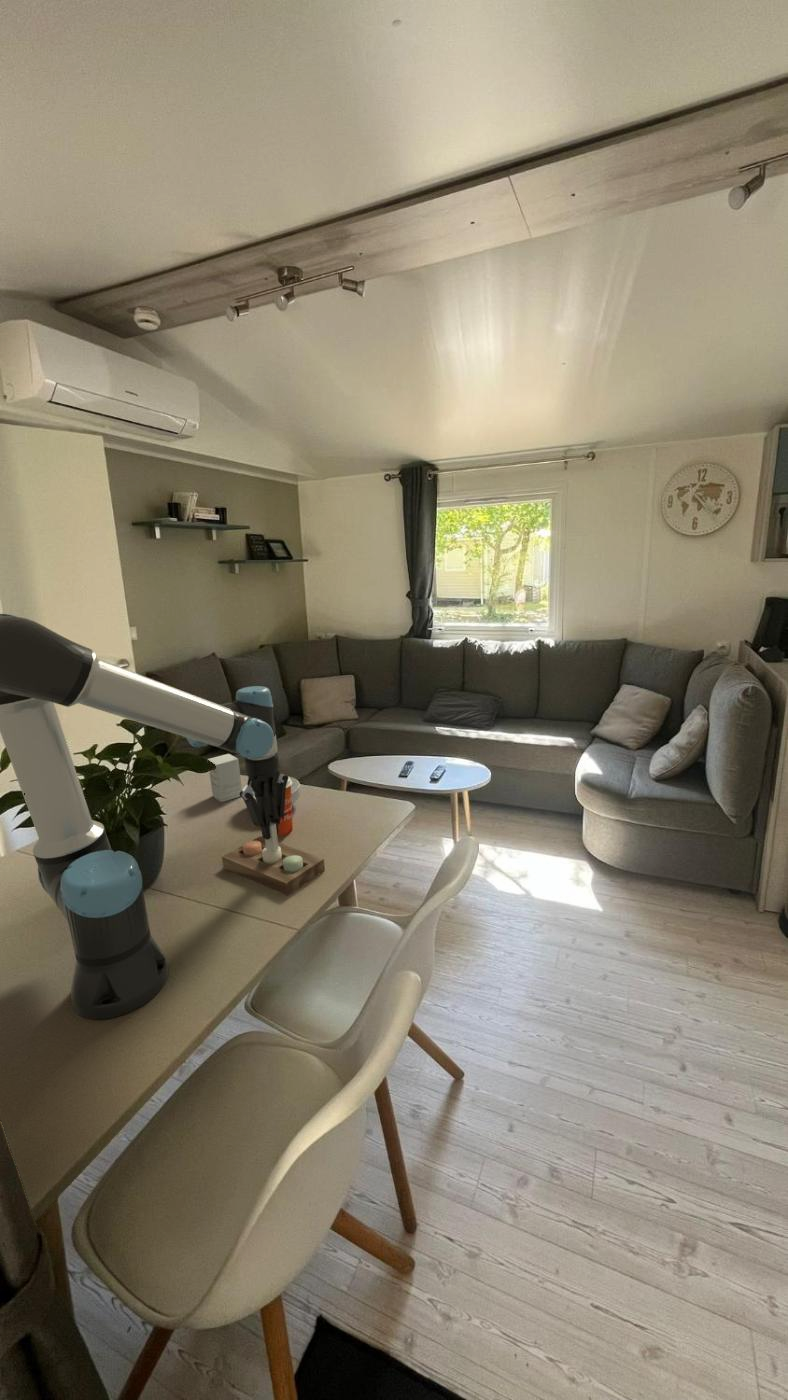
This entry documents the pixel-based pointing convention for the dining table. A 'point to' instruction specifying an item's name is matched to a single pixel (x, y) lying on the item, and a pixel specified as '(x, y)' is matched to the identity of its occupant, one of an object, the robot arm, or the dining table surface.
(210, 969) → the dining table surface
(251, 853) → the brown egg
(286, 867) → the pale green rounded block
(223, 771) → the supplement box
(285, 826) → the coffee cup
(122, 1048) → the dining table surface
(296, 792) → the cereal bowl
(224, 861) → the walnut panel
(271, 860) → the cream rounded piece
